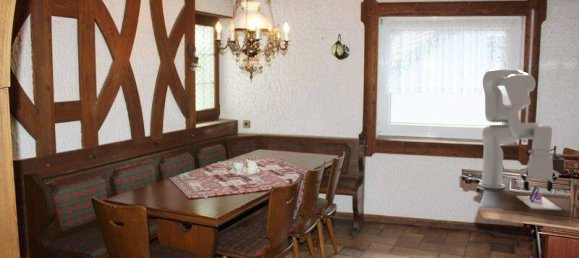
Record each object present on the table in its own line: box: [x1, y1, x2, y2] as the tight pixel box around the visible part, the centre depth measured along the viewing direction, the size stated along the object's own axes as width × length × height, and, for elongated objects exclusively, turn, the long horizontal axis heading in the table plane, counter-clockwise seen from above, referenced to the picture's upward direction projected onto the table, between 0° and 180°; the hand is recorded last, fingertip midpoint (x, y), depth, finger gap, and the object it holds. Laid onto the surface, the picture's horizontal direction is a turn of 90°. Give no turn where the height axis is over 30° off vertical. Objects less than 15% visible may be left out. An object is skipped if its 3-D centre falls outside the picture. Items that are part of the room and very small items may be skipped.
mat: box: [516, 195, 562, 211], centre depth 239 cm, size 22×12×1 cm, turn 173°
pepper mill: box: [550, 145, 565, 175], centre depth 309 cm, size 16×11×18 cm
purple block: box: [529, 185, 543, 203], centre depth 240 cm, size 7×5×9 cm
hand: (537, 190), depth 239 cm, fingers open, 9 cm apart
